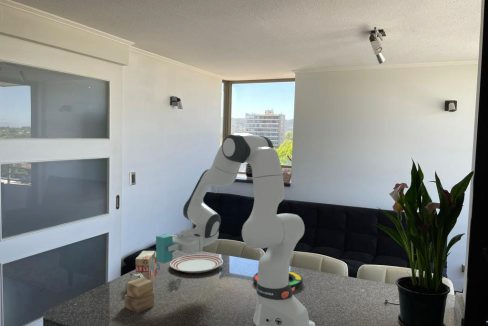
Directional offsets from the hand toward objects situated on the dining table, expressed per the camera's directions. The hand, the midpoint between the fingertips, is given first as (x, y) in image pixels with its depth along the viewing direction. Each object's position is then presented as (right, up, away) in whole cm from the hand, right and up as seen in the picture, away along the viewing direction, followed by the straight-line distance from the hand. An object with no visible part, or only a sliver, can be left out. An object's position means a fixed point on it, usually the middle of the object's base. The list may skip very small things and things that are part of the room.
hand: (162, 247), depth 148 cm
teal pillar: (0, -5, +1) cm, 6 cm away
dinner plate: (+8, -21, +47) cm, 53 cm away
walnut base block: (-9, -23, 0) cm, 25 cm away
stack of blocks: (-14, -22, +33) cm, 42 cm away
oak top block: (-9, -18, 0) cm, 20 cm away
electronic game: (+48, -23, +26) cm, 59 cm away
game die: (-14, -23, +15) cm, 31 cm away
